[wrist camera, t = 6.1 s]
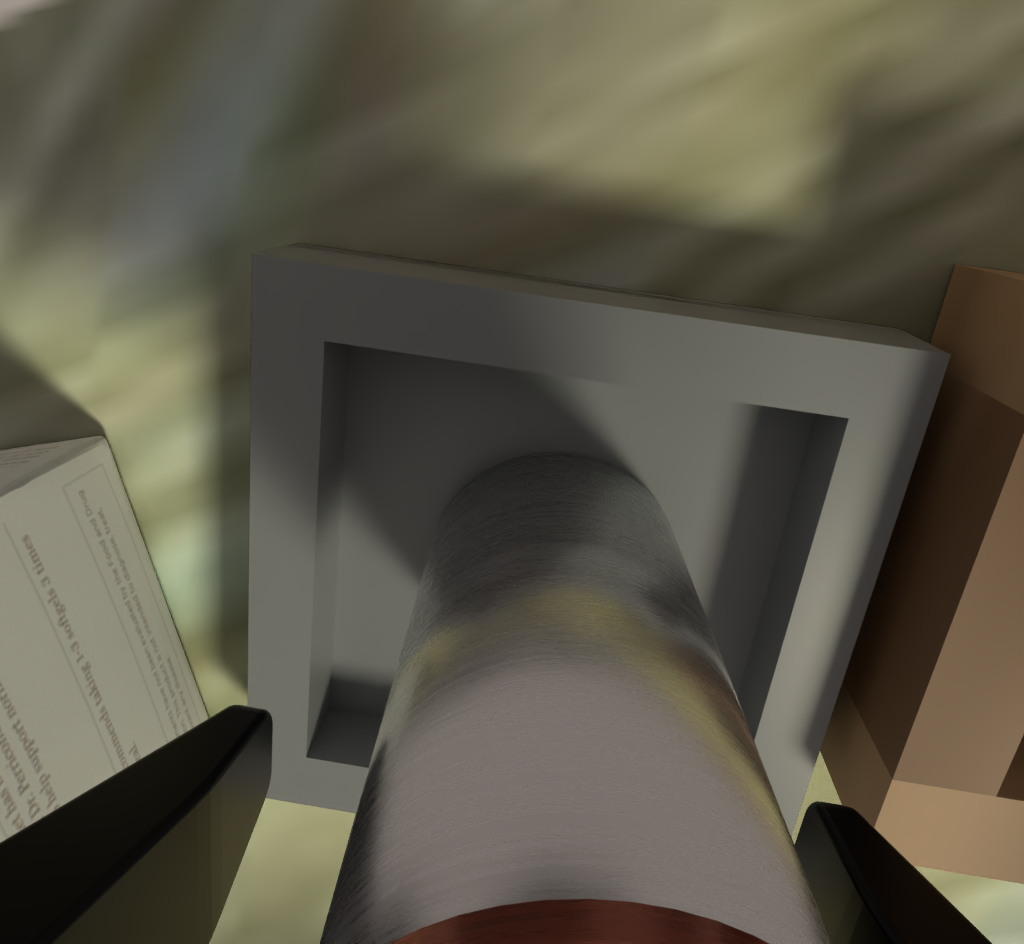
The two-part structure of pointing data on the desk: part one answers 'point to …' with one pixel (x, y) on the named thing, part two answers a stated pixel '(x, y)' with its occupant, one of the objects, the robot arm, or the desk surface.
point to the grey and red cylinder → (565, 740)
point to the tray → (558, 428)
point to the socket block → (950, 615)
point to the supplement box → (79, 632)
